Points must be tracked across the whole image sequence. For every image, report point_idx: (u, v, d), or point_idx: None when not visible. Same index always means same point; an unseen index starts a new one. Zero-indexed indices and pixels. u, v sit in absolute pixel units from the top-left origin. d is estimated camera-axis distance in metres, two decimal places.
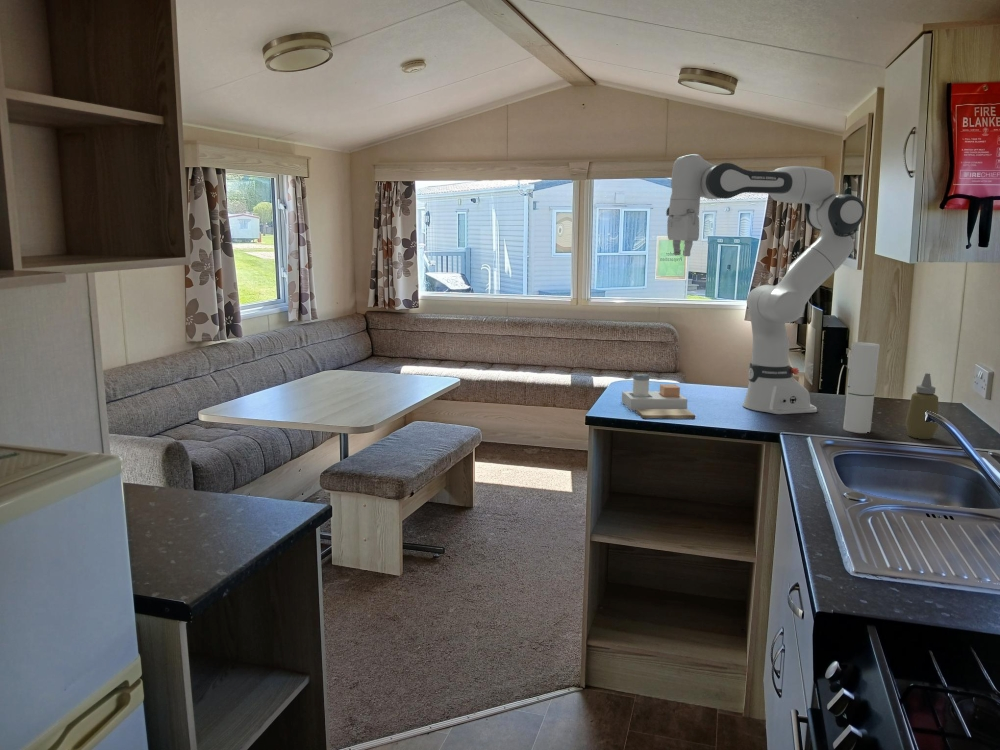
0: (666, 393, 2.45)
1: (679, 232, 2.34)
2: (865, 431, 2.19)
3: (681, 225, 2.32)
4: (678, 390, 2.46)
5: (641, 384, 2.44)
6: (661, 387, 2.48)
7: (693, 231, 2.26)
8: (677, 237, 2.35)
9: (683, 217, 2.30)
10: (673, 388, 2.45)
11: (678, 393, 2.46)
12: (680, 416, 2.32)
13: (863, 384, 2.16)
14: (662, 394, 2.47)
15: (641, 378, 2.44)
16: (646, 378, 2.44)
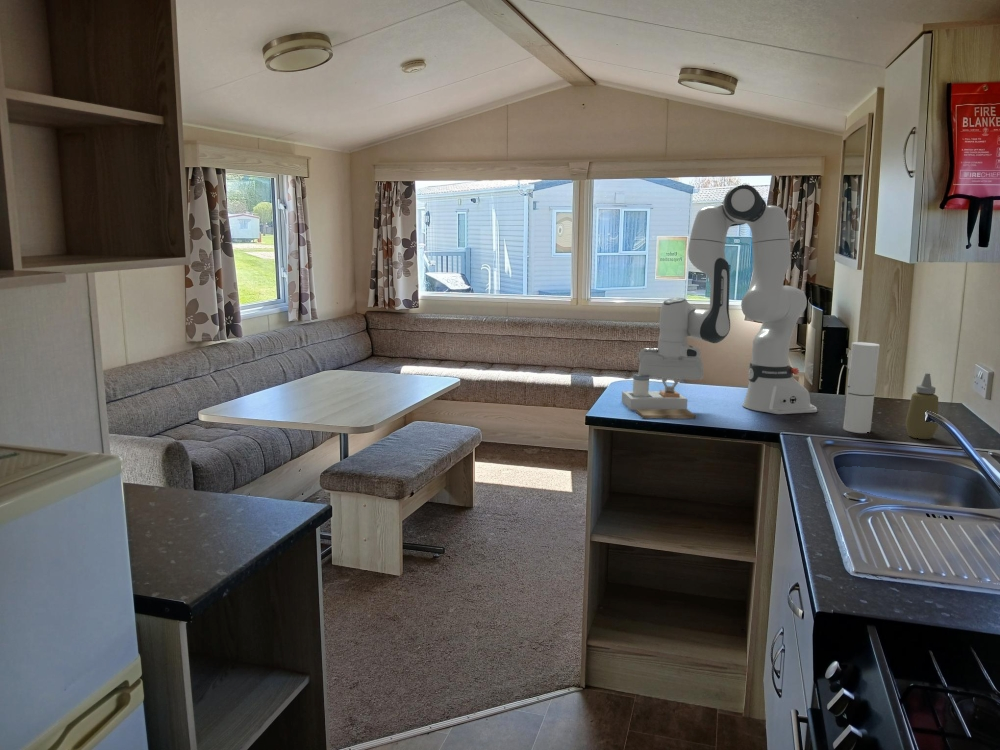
0: None
1: None
2: (865, 431, 2.19)
3: None
4: (678, 396, 2.46)
5: (641, 384, 2.44)
6: (661, 393, 2.49)
7: None
8: None
9: None
10: (673, 394, 2.46)
11: None
12: (680, 416, 2.32)
13: (863, 384, 2.16)
14: None
15: (641, 378, 2.44)
16: (646, 378, 2.44)
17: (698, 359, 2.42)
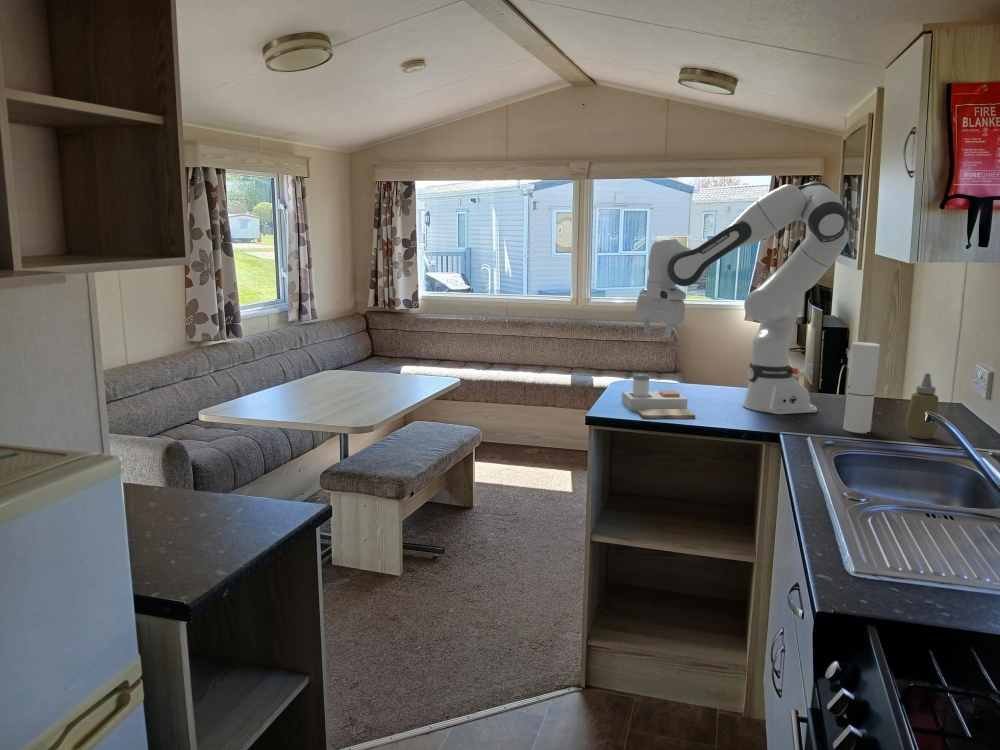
0: None
1: None
2: (865, 431, 2.19)
3: None
4: (678, 396, 2.46)
5: (641, 384, 2.44)
6: (661, 393, 2.49)
7: None
8: None
9: None
10: (673, 394, 2.46)
11: None
12: (680, 416, 2.32)
13: (863, 384, 2.16)
14: None
15: (641, 378, 2.44)
16: (646, 378, 2.44)
17: (670, 302, 2.33)
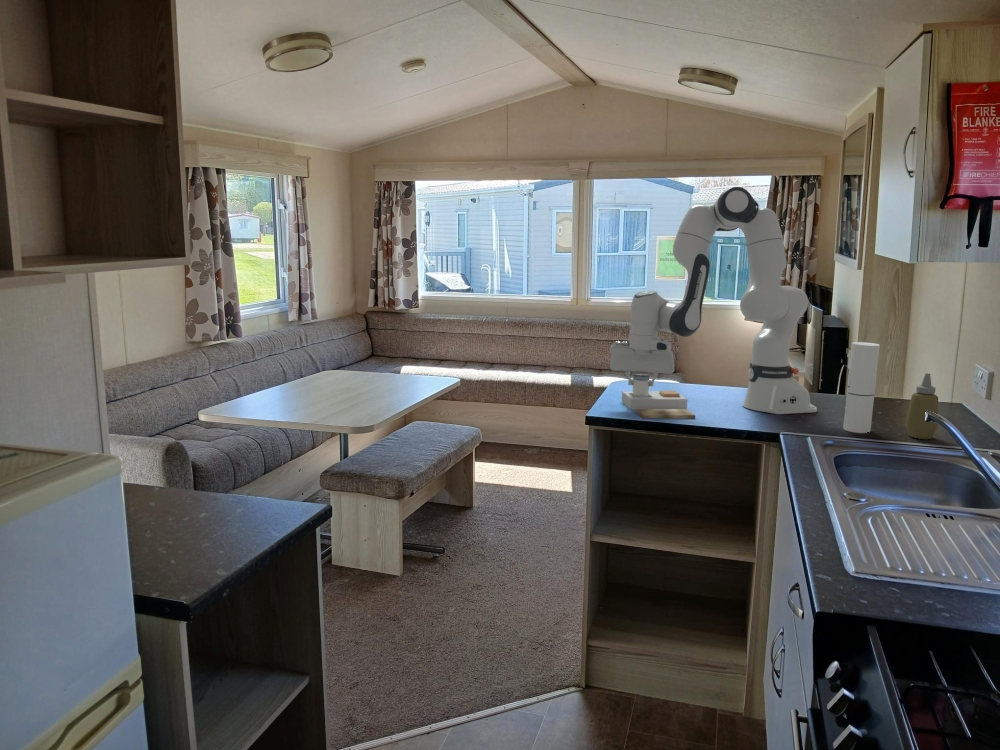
0: None
1: None
2: (865, 431, 2.19)
3: None
4: (678, 396, 2.46)
5: (641, 384, 2.44)
6: (661, 393, 2.49)
7: None
8: None
9: None
10: (673, 394, 2.46)
11: None
12: (680, 416, 2.32)
13: (863, 384, 2.16)
14: None
15: (641, 378, 2.44)
16: (646, 378, 2.44)
17: (668, 353, 2.41)
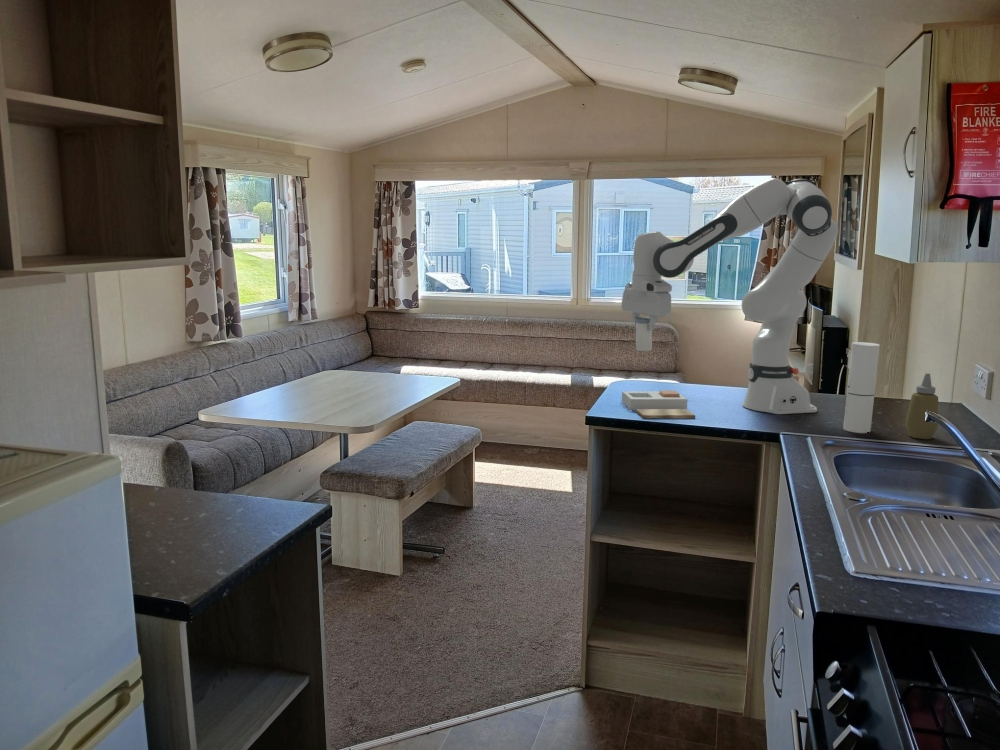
0: None
1: None
2: (865, 431, 2.19)
3: None
4: (678, 396, 2.46)
5: (638, 327, 2.42)
6: (661, 393, 2.49)
7: None
8: None
9: None
10: (673, 394, 2.46)
11: None
12: (680, 416, 2.32)
13: (863, 384, 2.16)
14: None
15: (638, 320, 2.42)
16: (643, 321, 2.41)
17: (656, 294, 2.33)
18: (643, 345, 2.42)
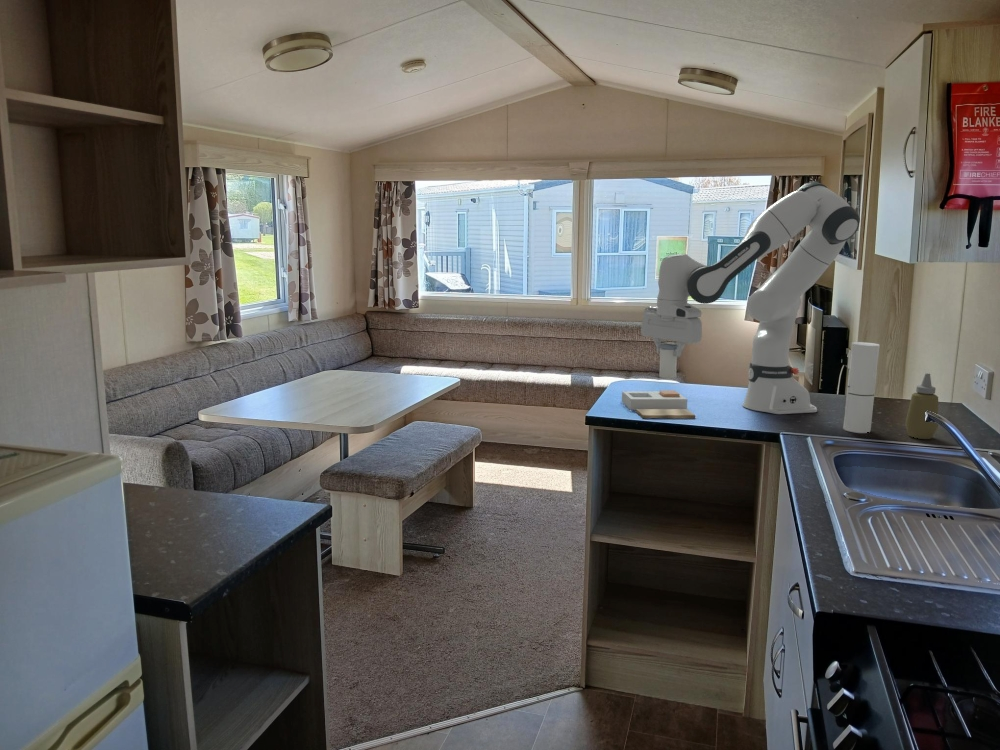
0: None
1: None
2: (865, 431, 2.19)
3: None
4: (678, 396, 2.46)
5: (664, 353, 2.30)
6: (661, 393, 2.49)
7: None
8: None
9: None
10: (673, 394, 2.46)
11: None
12: (680, 416, 2.32)
13: (863, 384, 2.16)
14: None
15: (664, 347, 2.30)
16: (669, 347, 2.29)
17: (688, 320, 2.22)
18: (668, 372, 2.31)
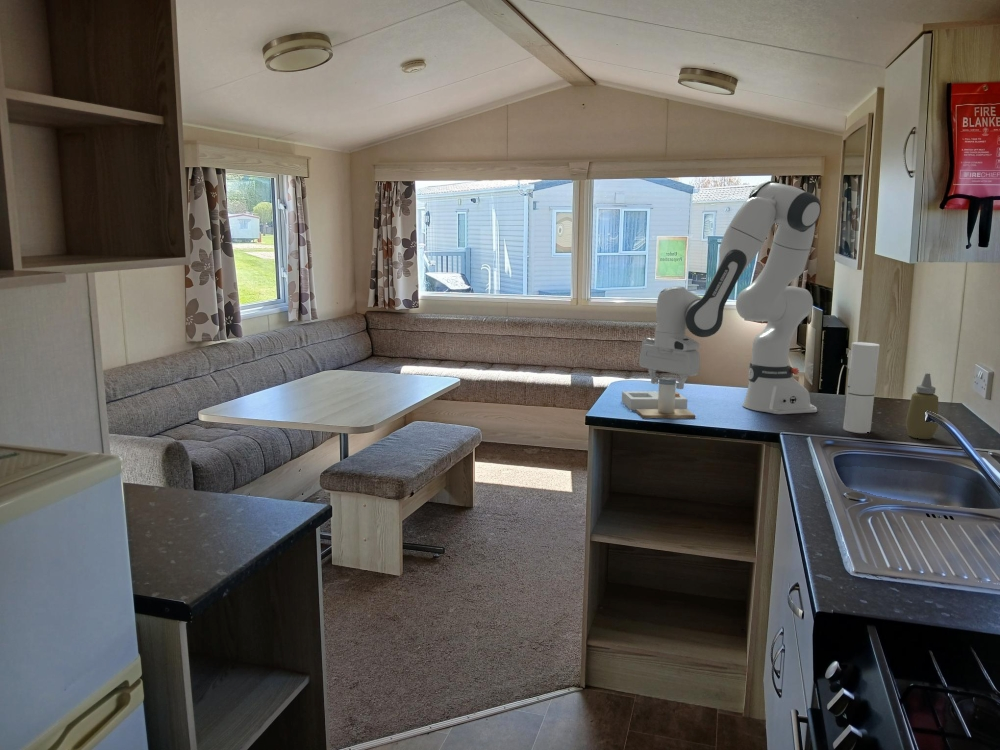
0: None
1: None
2: (865, 431, 2.19)
3: None
4: (678, 396, 2.46)
5: (662, 388, 2.33)
6: None
7: None
8: None
9: None
10: None
11: None
12: (680, 416, 2.32)
13: (863, 384, 2.16)
14: None
15: (662, 382, 2.33)
16: (668, 382, 2.32)
17: (686, 353, 2.24)
18: (667, 407, 2.33)
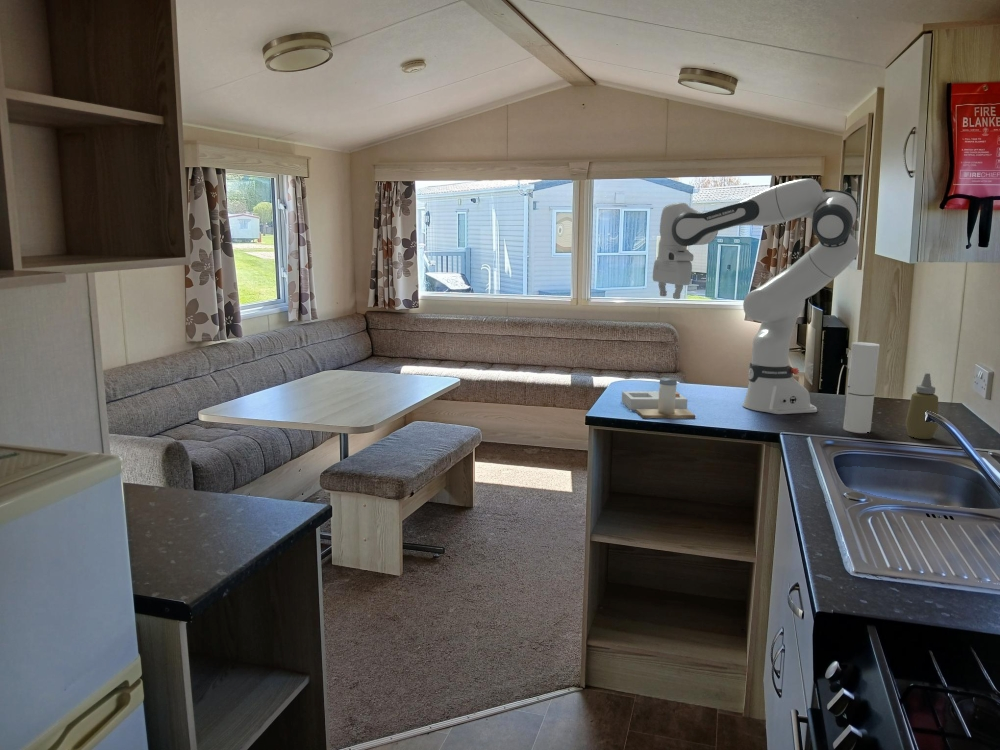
0: None
1: None
2: (865, 431, 2.19)
3: None
4: (678, 396, 2.46)
5: (663, 388, 2.33)
6: None
7: None
8: None
9: None
10: None
11: None
12: (680, 416, 2.32)
13: (863, 384, 2.16)
14: None
15: (663, 382, 2.32)
16: (668, 383, 2.32)
17: (676, 263, 2.41)
18: (667, 408, 2.33)
